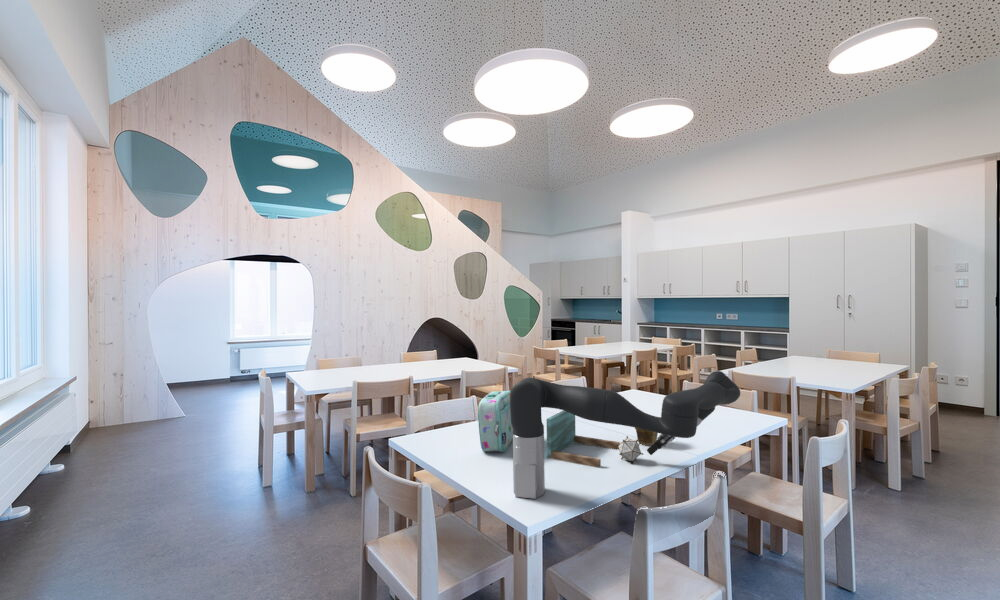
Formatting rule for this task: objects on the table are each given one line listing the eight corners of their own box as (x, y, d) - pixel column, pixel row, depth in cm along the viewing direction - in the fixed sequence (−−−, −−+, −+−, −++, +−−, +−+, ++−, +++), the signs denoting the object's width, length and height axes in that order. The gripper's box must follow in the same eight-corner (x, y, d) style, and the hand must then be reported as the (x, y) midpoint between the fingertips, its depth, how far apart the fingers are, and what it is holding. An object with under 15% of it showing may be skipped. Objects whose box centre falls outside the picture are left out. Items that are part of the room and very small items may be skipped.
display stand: (619, 448, 172) (619, 411, 172) (599, 467, 153) (598, 426, 153) (572, 441, 182) (571, 406, 183) (547, 457, 163) (546, 418, 163)
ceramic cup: (665, 444, 177) (665, 418, 177) (650, 449, 171) (649, 422, 171) (637, 436, 187) (637, 412, 187) (622, 441, 181) (621, 416, 181)
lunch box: (504, 457, 164) (503, 398, 164) (477, 456, 166) (476, 397, 166) (516, 436, 190) (515, 385, 190) (492, 435, 192) (492, 384, 192)
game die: (626, 469, 160) (621, 442, 167) (649, 464, 156) (643, 436, 163) (615, 463, 155) (610, 434, 161) (638, 457, 151) (633, 429, 157)
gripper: (690, 434, 143) (652, 467, 149) (697, 424, 154) (661, 455, 160) (672, 415, 146) (635, 448, 152) (680, 407, 157) (645, 438, 163)
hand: (649, 452), depth 156 cm, fingers closed
